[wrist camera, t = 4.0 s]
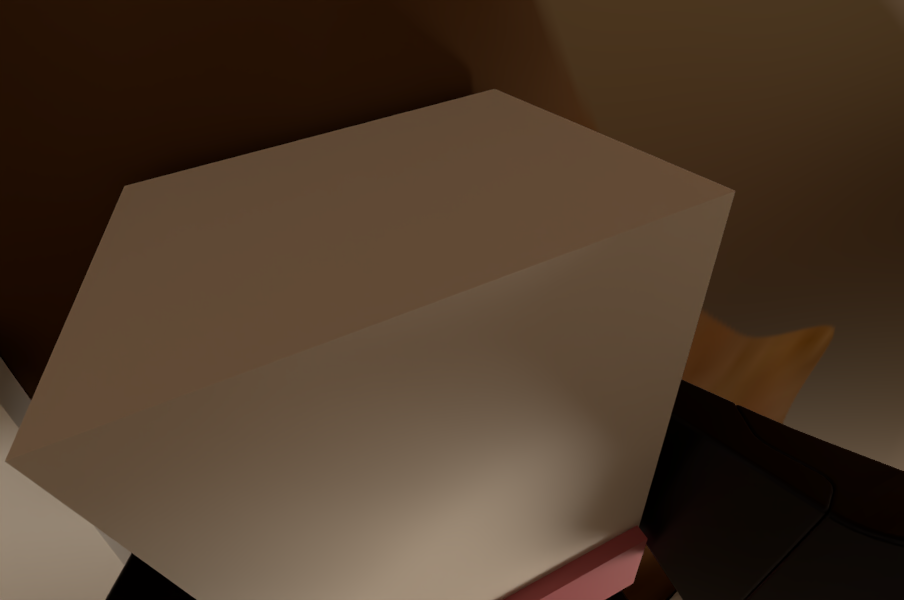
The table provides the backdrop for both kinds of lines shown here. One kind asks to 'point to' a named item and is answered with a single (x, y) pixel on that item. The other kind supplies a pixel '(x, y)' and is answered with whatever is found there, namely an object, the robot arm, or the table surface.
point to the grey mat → (45, 528)
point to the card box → (384, 361)
